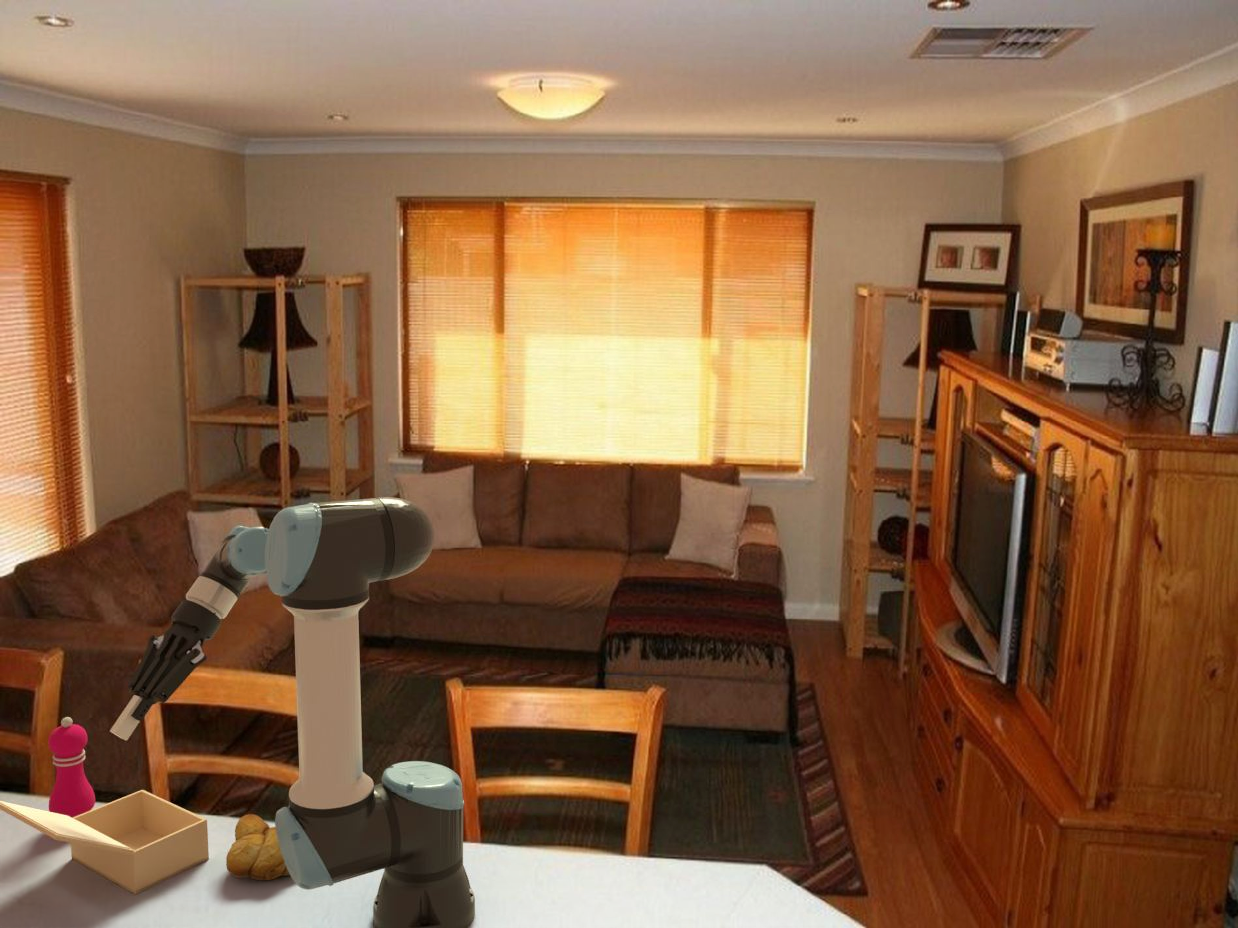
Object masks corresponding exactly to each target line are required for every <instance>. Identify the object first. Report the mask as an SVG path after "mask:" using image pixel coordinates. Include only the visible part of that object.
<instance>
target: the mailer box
mask: <svg viewBox="0 0 1238 928" xmlns="http://www.w3.org/2000/svg"><path fill="white" fill-rule="evenodd" d="M73 819H75V820H77V821H79V822H81V823H83V824H85V825H87V826H89V827H91V828H92V829H94V830H96V831H98V832H100V833H102V834H104V835H106V836H108V837H110V838H112V839H114V840H115V841H117V842H119V843H121V844H123V845H125V846H127V847H129V848H130V849H132V850H134V853H133V855H131V854H126V853H121V852H116V851H111V850H106V849H101V848H95V847H90V846H85V845H80V844H75V843H70V850H71V851H70V852H71V860H73V861H75V862H77V863H79V864H81V865H82V866H84V867H86V868H87V869H89V870H91V871H93V872H95V873H96V874H98V875H100V876H102V877H103V878H105V879H107V880H109V881H110V882H113V883H115V884H116V885H118V886H120V887H121V888H123V889H126V891H129V892H130V893H131V894H134V895H138V894H140V893H142V892H144V891H146V890H147V889H151V888H152V887H155V886H157V885H158V884H161V883H163V882H165V881H167V880H168V879H169V880H170V879H171V878H174V877H175V876H177V875H179V874H181V873H183V872H185V871H187V870H189V869H191V868H193V867H195V866H198V865H200V864H202V863H204V862H206V861H208V860H210V857H209V836H208V835H209V832H208V831H209V830H208V819H206V818H204V817H202V816H200V815H198V814H197V813H194V812H192V811H190V810H187V809H185V808H183V807H181V806H179V805H177V804H174V803H172V802H170V801H168V800H166V799H164V798H161V797H160V796H157V795H155V794H153V793H151V792H149V791H147V790H145V789H141V790H138V791H135V792H134V793H133V792H132V793H131V794H127V795H126V796H123V797H121V798H118V799H115V800H113V801H111V802H108V803H105V804H103V805H100V806H99V807H95V808H94V809H93V808H92V809H91V810H90V811H88V812H85V813H83V814H80V815H78V816H75V817H73Z"/></svg>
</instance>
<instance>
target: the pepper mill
mask: <svg viewBox="0 0 1238 928" xmlns="http://www.w3.org/2000/svg"><path fill="white" fill-rule="evenodd" d="M60 724H61V725H60V726H58V727H56V728H55V729H54V730H52V731H51V733H50V734H49V737H48V740H47V741H48V743H47V744H48V745H47V746H48V748H49V751H50V752H52V753H53V755H52V759H53V761H52V764H53V765H55V768H56V775H55V776H56V777H55V781H54V782H55V783H54V786H53V788H52V791H51V793H50V795H49V800H48V811H49V812H53V813H58V814H62V815H67V816H69V817H71V818H73V817H75V816H78V815H80V814H83V813H85V812H88V811H90V810H93V808H94V807H95V805H96V795H95V792H94V789H93V787H92V786H91V784H90V782H89V781H88V778H87V777H86V774H85V771H84V770H85V769H84V761H85V759H86V751H85V749H84V748H85V747H86V745H87V743H88V741H89V740H88V734H87V731H86V729H85V728H84V727H82V726H81V725H80V724H74V723H73V719H72V718H71V716H70V717H69V716H66V717H63V718H62V719H61V721H60Z"/></svg>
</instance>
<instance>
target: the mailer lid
mask: <svg viewBox="0 0 1238 928" xmlns="http://www.w3.org/2000/svg"><path fill="white" fill-rule="evenodd" d="M0 811H2V812H4V813H6V814H8V815H10V816H11V817H13V818H15V819H17V820H18V821H20V822H23V823H24V824H26V825H28V826H29V827H31V828H33V829H36V830H37V831H39V832H41V833H42V834H44V835H46V836H48V837H50V838H51V839H54V840H56V841H59V842H65V843H70V844H71V843H75V844H80V845H85V846H90V847H95V848H101V849H106V850H111V851H116V852H121V853H126V854H131V855H133V853H134V850H132V849H130V848H129V847H127V846H125V845H123V844H121V843H119V842H117V841H115V840H114V839H112V838H110V837H108V836H106V835H104V834H102V833H100V832H98V831H96V830H94V829H92V828H91V827H89V826H87V825H85V824H83V823H81V822H79V821H77V820H75V819H73V818H71V817H69V816H67V815H62V814H58V813H53V812H50V811H49V810H45V809H44V810H43V809H39V808H34V807H31V806H30V807H29V806H25V805H21V804H16V803H12V802H7V801H2V800H0Z"/></svg>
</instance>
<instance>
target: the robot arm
mask: <svg viewBox="0 0 1238 928" xmlns="http://www.w3.org/2000/svg"><path fill="white" fill-rule="evenodd" d="M435 533H436V531H435V525H434V523H433V520H432V519H431V517H430V515H429V514H428V513H427V512H426V511H425V510H424V508H422V507H421V506H419V505H418V504H416V503H414V502H412V501H410V500H407V499H403V498H398V497H393V496H392V497H389V496H379V497H378V496H377V497H371V498H362V499H361V498H360V499H347V500H346V499H345V500H335V501H324V502H323V501H321V502H308V503H306V504H300V505H295V506H287V507H285V508H283V509H281V510H280V511H278V513H276V515H274V517H273V520H272V521H271V523H270V525H269V528H267V527H263V526H252V527H249V526H242V525H237V526H234V527H233V528H232V529H231V530H230V532H229V533H227V535H226V537H224V538H223V540H222V541H221V544H220V545H219V547H218V549H216V551H215V553H214V554H213V556H212V557H211V559H210V560H209V561H208V563H207V565H206V566H205V568H204V569H203V571H201V574H200V575H199V576H198V577H197V578H196V580H195V581H194V583H193V584H192V585H191V587H190V588H189V589H188V590H187V592H186V594H185V599H184V600H181V602H180V603H179V605H177V607H176V609H175V611H174V612H173V613H172V614H171V621H172V625H171V626H169V628H168V629H166V630H165V632H164V633H163V635H160V636H158V637H157V636H156V635H153V634H152V635H151V636H150V637H149V638H148V642H147V647H146V649H145V651H144V654H143V655H142V658H141V659H140V661H139V663H138V665H137V667H136V669H135V671H134V673H133V675H132V677H131V680H130V682H129V683H128V685H127V688H128V689H130V690H131V692H132V696H131V697H130V698H129V700H128V701H127V703H126V704H125V706H124V707H123V709H122V711H121V714H120V715H119V716H118V718H117V720H116V721H115V722H114V724H113V725H112V727H111V728H110V730H109V732H110V733H112V734H113V735H115V736H116V737H118V738H119V739H122V740H124V741H128V740H129V738H130V737H131V735H132V734H133V733H134V731H135V729H136V728H137V726H138V724H139V723H140V722H142V721H143V720H144V719H145V717H146V715H147V714H148V713H149V711H150V709H151V708H152V707H153V705H156V704H157V703H161V704H165V703H166V702H167V701H168V700H169V698H171V696H172V695H173V694H174V693H175V692H176V691H177V690H178V689H179V687H180V686H181V685H182V684H183V683H184V682H185V681H186V679H187V678H188V677H189V676H190V675H191V674H192V673H193V671H195V670H196V668H197V667H198V666H200V665H201V664H202V663H204V662H205V661H207V659H208V656H207V655H206V654H205V653H203V649H202V648H203V646H204V643H205V641H210V640H212V639H213V638H214V636H215V634H216V633H217V631H219V628H220V627H221V625H222V624H223V623H222V619H225V618H226V617H227V616H228V614H229V613H230V611H232V608H233V607H234V606H235V604H236V602H237V601H238V600H239V598H240V597H241V594H242V593H243V592H244V591H245V588H246V587H247V586H248V584H249V583H250V582H251V580H252V579H253V578H255V577H257V576H261V575H265V576H266V577H265V578H266V582H267V585H268V588H269V590H270V591H271V592H272V593H273V594H274V595H276V596H280V597H281V605H282V607H283V608H284V609H286V610H287V611H288V612H290V613H291V614H292V616H293V625H294V626H293V629H294V630H293V631H294V655H295V656H294V657H295V685H296V710H297V711H296V713H297V714H296V715H297V742H298V743H297V744H298V767H299V768H298V771H299V772H298V773H299V777H298V779H297V780H296V781H295V782H294V783H293V784H292V785H291V786H290V788H289V791H288V806H283V807H281V808H280V809H278V810H277V811H276V813H275V817H274V818H275V819H274V824H275V826H274V827H276V834H277V839H278V843H279V847H280V850H281V853H282V856H283V859H284V862H285V865H286V867H287V869H288V872H289V874H290V875H289V876H290V877H291V879H292V881H293V882H294V883H295V884H296V885H297V887H299V888H300V889H303V890H313V889H317V888H321V887H325V886H329V887H331V886H334V884H337V883H341V882H343V881H347V880H351V879H353V878H356V877H361V876H364V875H367V874H371V873H373V872H377V871H380V870H383V869H384V870H383V873H382V876H381V880H380V882H379V885H378V886H379V887H378V890H377V894H376V895H375V898H374V900H373V901H374V902H373V907H372V910H373V911H372V918H373V926H374V928H468V927H469V926H470V925H471V924H472V922H473V920H474V918H475V914H476V913H475V912H476V902H475V901H476V900H475V899H476V898H475V894H474V891H473V889H472V887H471V883H470V880H469V877H468V875H467V872H466V869H465V866H464V806H465V801H464V794H463V784H462V783H463V782H462V780H461V778H460V776H459V775H458V773H456V772H455V770H453V769H451V768H449V767H447V766H445V765H442V764H438V763H435V762H431V761H430V762H429V761H423V760H421V761H420V760H411V761H402V762H396V763H394V764H392V765H390V766H389V767H387V768H386V769H385V770H384V771H383V774H382V776H381V782H382V783H379V784H375V783H374V780H373V778H371V777H370V776H369V775H368V774H366V773H365V772H364V770H363V740H362V739H363V738H362V734H363V733H362V705H361V703H362V701H361V697H362V696H361V669H360V668H361V662H360V633H359V631H360V629H359V628H360V627H359V623H360V622H359V621H360V620H359V611H360V609H362V608H363V607H364V606H365V605H366V604H367V603H368V602H369V600H370V583H375V582H380V581H385V580H387V581H388V580H391V579H392V580H393V579H397V578H399V577H402V576H405V575H407V574H409V573H411V572H413V571H415V570H416V569H418V568H419V567H420V566H421V565H423V564H424V563H425V562H426V561H427V559H428V558H429V557H430V555H431V553H432V551H433V548H434V545H435V541H436V540H435V539H436V534H435Z"/></svg>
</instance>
